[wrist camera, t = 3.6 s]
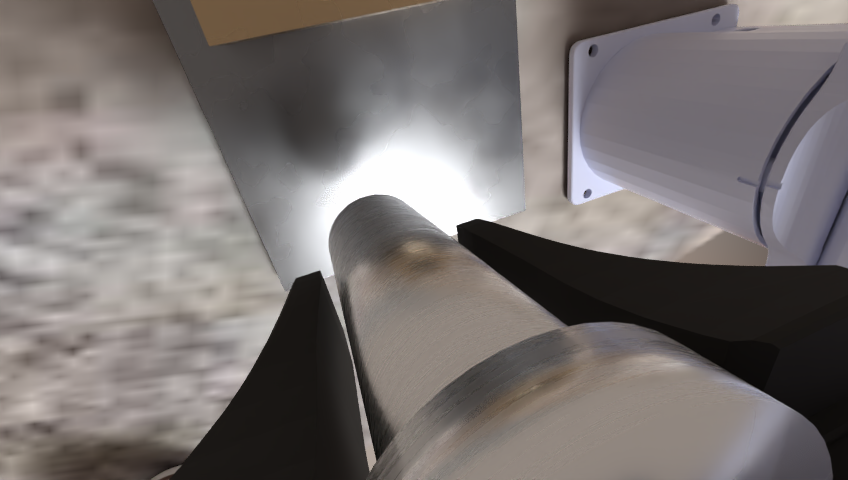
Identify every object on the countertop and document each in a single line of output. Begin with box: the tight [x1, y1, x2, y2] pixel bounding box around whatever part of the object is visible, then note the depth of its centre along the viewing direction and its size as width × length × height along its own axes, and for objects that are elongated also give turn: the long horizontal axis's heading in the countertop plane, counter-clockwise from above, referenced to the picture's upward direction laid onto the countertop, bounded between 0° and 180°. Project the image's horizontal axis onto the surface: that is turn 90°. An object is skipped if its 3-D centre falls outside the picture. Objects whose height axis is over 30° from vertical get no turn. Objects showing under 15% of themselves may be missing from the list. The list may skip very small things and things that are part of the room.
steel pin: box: [328, 194, 833, 480], centre depth 7 cm, size 4×4×10 cm
